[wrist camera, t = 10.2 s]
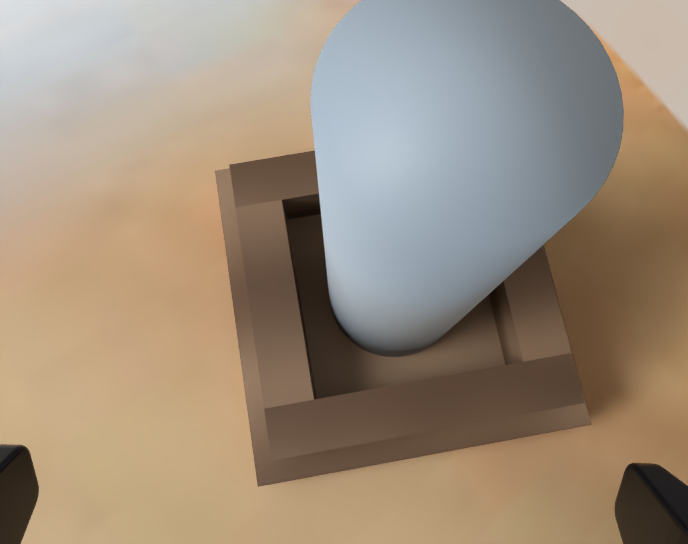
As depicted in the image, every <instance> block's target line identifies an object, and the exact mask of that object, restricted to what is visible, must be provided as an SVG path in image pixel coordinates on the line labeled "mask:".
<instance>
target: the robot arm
mask: <svg viewBox="0 0 688 544" xmlns="http://www.w3.org/2000/svg"><path fill="white" fill-rule="evenodd" d="M38 493H39V486H38V481H37V477H36V474H35V470H34V466H33V462H32V459H31V455H30V452H29V450H28V449H27V447H25V446H23V445H6V444H1V445H0V544H21V541H22V539H23V536H24V534H25V531H26V528H27V526H28V523H29V521H30V518H31V515H32V513H33V510H34V508H35V505H36V502H37V499H38ZM615 517H616V521H617V524H618V528H619V531H620V534H621V538H622V541H623V544H688V486H687V485H686V484H684V483H683V482H682V481H680V480H679V479H678V478H676V477H675V476H674V475H672V474H671V473H670V472H668V471H667V470H666V469H664V468H663V467H661V466H660V465H657V464H650V463H632V464H629V465H628V466H627V467H626V470H625V472H624V475H623V478H622V482H621V485H620V488H619V491H618V495H617V498H616V501H615Z"/></svg>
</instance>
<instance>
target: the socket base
mask: <svg viewBox="0 0 688 544" xmlns="http://www.w3.org/2000/svg"><path fill="white" fill-rule="evenodd" d="M229 166H230V168H229V169H223V170H217V171H215V174H216V181H217V189H218V196H219V204H220V211H221V218H222V226H223V233H224V240H225V248H226V255H227V263H228V270H229V277H230V285H231V292H232V299H233V307H234V314H235V321H236V329H237V336H238V344H239V351H240V358H241V366H242V373H243V380H244V388H245V395H246V402H247V410H248V417H249V425H250V432H251V439H252V447H253V454H254V461H255V469H256V476H257V484H258V487H259V486H264V485H270V484H275V483H280V482H286V481H291V480H296V479H302V478H307V477H312V476H318V475H323V474H329V473H334V472H339V471H345V470H350V469H355V468H361V467H366V466H372V465H377V464H382V463H388V462H393V461H398V460H404V459H409V458H415V457H420V456H425V455H431V454H436V453H441V452H447V451H452V450H457V449H463V448H468V447H474V446H479V445H484V444H490V443H495V442H500V441H506V440H511V439H517V438H522V437H527V436H533V435H538V434H543V433H549V432H554V431H559V430H565V429H570V428H576V427H581V426H586V425H591V421H590V417H589V414H588V410H587V406H586V402H585V399H584V395H583V391H582V387H581V384H580V380H579V376H578V373H577V369H576V365H575V361H574V358H573V354H572V350H571V346H570V343H569V339H568V335H567V331H566V328H565V324H564V320H563V316H562V313H561V309H560V305H559V301H558V298H557V294H556V290H555V286H554V283H553V279H552V275H551V271H550V268H549V264H548V260H547V256H546V253H545V249H544V245H542V246H541V247H540V248H539V249H538V250H537V251H536V252H535V253H534V254H533V255H531V256H530V257H529V258H528V259H527V260H526V261H525V262H524V263H523V264H522V265H520V266H519V267H518V268H517V269H516V270H515V271H514V272H513V273H512V274H510V275H509V276H508V277H507V278H506V279H505V280H504V281H503V282H502V283H501V284H499V285H498V286H497V287H496V288H495V289H494V290H493V291H492V292H491V293H489V294H488V295H487V296H486V297H485V298H484V299H483V300H482V301H481V302H480V303H478V304H477V305H476V306H475V307H474V308H473V309H472V310H471V311H470V312H469V313H467V314H466V315H465V316H464V317H463V318H462V319H461V320H460V321H459V322H457V323H456V324H455V325H454V326H453V327H452V328H451V329H450V330H449V331H448V332H446V333H445V334H444V335H443V336H442V337H441V338H440V339H439V340H438V341H436V342H435V343H434V344H433V345H431V346H430V347H428V348H426V349H425V350H423V351H421V352H418V353H416V354H412V355H409V356H403V357H386V356H380V355H377V354H373V353H370V352H368V351H366V350H364V349H362V348H360V347H359V346H357V345H356V344H354V343H353V342H352V341H351V340H350V339H349V338H348V337H347V336H346V335H345V334H344V333H343V332H342V330H341V329H340V328H339V326H338V324H337V322H336V321H335V318H334V316H333V313H332V310H331V306H330V299H329V289H328V279H327V269H326V259H325V249H324V239H323V228H322V218H321V208H320V198H319V188H318V178H317V167H316V157H315V151H310V152H304V153H298V154H292V155H286V156H280V157H274V158H268V159H262V160H255V161H249V162H243V163H237V164H231V165H229Z"/></svg>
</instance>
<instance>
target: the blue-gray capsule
mask: <svg viewBox="0 0 688 544" xmlns="http://www.w3.org/2000/svg"><path fill="white" fill-rule="evenodd" d="M623 114H624V111H623V102H622V93H621V89H620V85H619V81H618V78H617V74H616V72H615V69H614V67H613V65H612V62H611V60H610V58H609V56H608V54H607V52H606V51H605V49H604V47H603V45H602V44H601V42H600V41H599V39H598V38H597V37H596V35H595V34H594V33H593V31H592V30H591V29H590V27H589V26H588V25H587V24H586V23H585V22H584V21H583V20H582V19H581V18H580V17H579V16H578V15H577V14H576V13H575V12H574V11H572V10H571V9H570V8H569V7H567V6H566V5H565V4H564V3H563V2H561V1H560V0H362V1H360V2H359V3H358V4H357V5H355V6H354V7H353V8H352V9H351V10H350V11H349V12H348V13H347V14H346V15H345V16H344V17H343V18H342V19H341V21H340V22H339V23H338V24H337V25H336V27H335V28H334V30H333V31H332V33H331V34H330V36H329V37H328V39H327V41H326V43H325V45H324V47H323V49H322V51H321V53H320V55H319V58H318V61H317V64H316V67H315V70H314V75H313V81H312V86H311V117H312V127H313V137H314V147H315V157H316V167H317V178H318V188H319V198H320V208H321V218H322V228H323V239H324V249H325V259H326V269H327V279H328V289H329V299H330V306H331V310H332V313H333V316H334V318H335V321H336V322H337V324H338V326H339V328H340V329H341V330H342V332H343V333H344V334H345V335H346V336H347V337H348V338H349V339H350V340H351V341H352V342H353V343H354V344H356V345H357V346H359V347H360V348H362V349H364V350H366V351H368V352H370V353H373V354H377V355H380V356H386V357H403V356H409V355H412V354H416V353H418V352H421V351H423V350H425V349H426V348H428V347H430V346H431V345H433V344H434V343H435V342H436V341H438V340H439V339H440V338H441V337H442V336H443V335H444V334H445V333H446V332H448V331H449V330H450V329H451V328H452V327H453V326H454V325H455V324H456V323H457V322H459V321H460V320H461V319H462V318H463V317H464V316H465V315H466V314H467V313H469V312H470V311H471V310H472V309H473V308H474V307H475V306H476V305H477V304H478V303H480V302H481V301H482V300H483V299H484V298H485V297H486V296H487V295H488V294H489V293H491V292H492V291H493V290H494V289H495V288H496V287H497V286H498V285H499V284H501V283H502V282H503V281H504V280H505V279H506V278H507V277H508V276H509V275H510V274H512V273H513V272H514V271H515V270H516V269H517V268H518V267H519V266H520V265H522V264H523V263H524V262H525V261H526V260H527V259H528V258H529V257H530V256H531V255H533V254H534V253H535V252H536V251H537V250H538V249H539V248H540V247H541V246H542V245H544V244H545V243H546V242H547V241H548V240H549V239H550V238H551V237H552V236H554V235H555V234H556V233H557V232H558V231H559V230H560V229H561V228H562V227H563V226H565V225H566V224H567V223H568V222H569V221H570V220H571V219H572V218H573V217H575V216H576V215H577V214H578V213H579V212H580V211H581V210H582V209H583V208H584V207H585V206H586V205H587V204H588V203H589V202H590V201H591V200H592V199H593V198H594V196H595V195H596V194H597V192H598V191H599V190H600V188H601V187H602V185H603V184H604V183H605V181H606V179H607V177H608V175H609V173H610V171H611V170H612V168H613V166H614V163H615V160H616V157H617V154H618V151H619V148H620V143H621V138H622V132H623Z"/></svg>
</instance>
